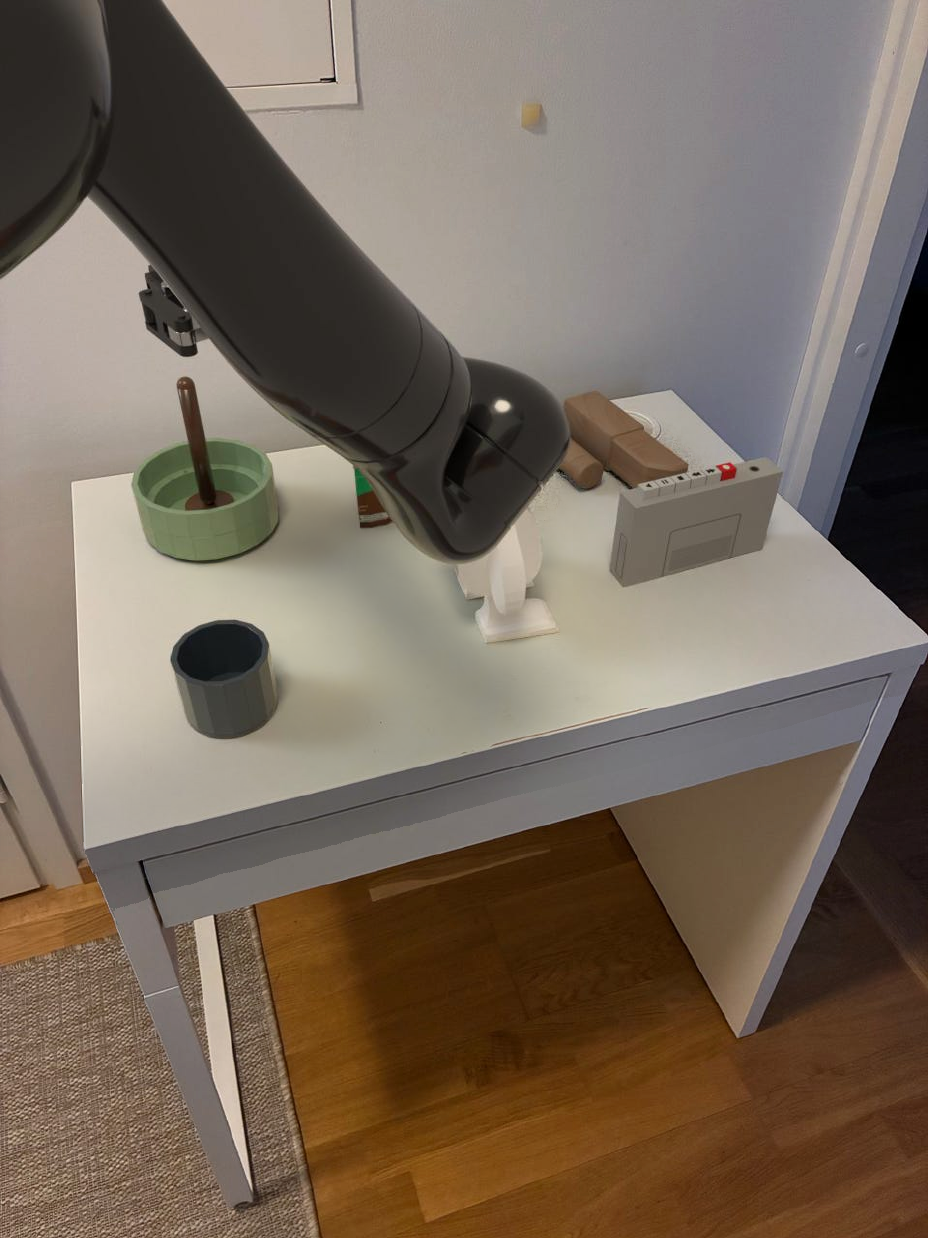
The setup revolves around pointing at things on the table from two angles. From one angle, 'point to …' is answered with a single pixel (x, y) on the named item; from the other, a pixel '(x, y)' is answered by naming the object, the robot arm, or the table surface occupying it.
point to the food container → (368, 504)
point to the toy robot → (508, 585)
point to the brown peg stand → (199, 451)
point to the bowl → (208, 531)
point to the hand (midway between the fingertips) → (210, 264)
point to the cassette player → (693, 519)
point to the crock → (225, 678)
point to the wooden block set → (613, 445)
